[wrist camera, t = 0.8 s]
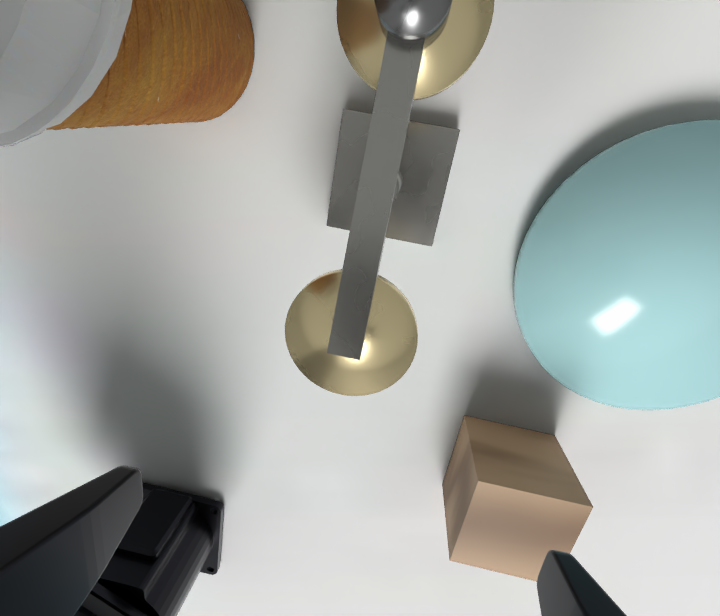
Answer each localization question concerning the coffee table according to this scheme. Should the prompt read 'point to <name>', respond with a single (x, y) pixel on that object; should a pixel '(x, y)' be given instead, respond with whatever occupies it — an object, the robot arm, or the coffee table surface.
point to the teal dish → (630, 273)
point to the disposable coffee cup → (119, 63)
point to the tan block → (510, 498)
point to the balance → (384, 187)
